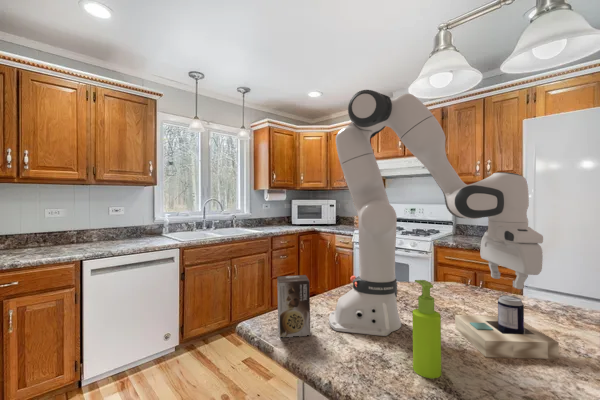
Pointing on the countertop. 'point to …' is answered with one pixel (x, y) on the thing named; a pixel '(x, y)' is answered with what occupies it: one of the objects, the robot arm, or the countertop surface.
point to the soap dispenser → (426, 335)
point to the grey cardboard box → (293, 306)
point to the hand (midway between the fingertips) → (506, 282)
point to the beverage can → (510, 315)
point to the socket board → (505, 339)
